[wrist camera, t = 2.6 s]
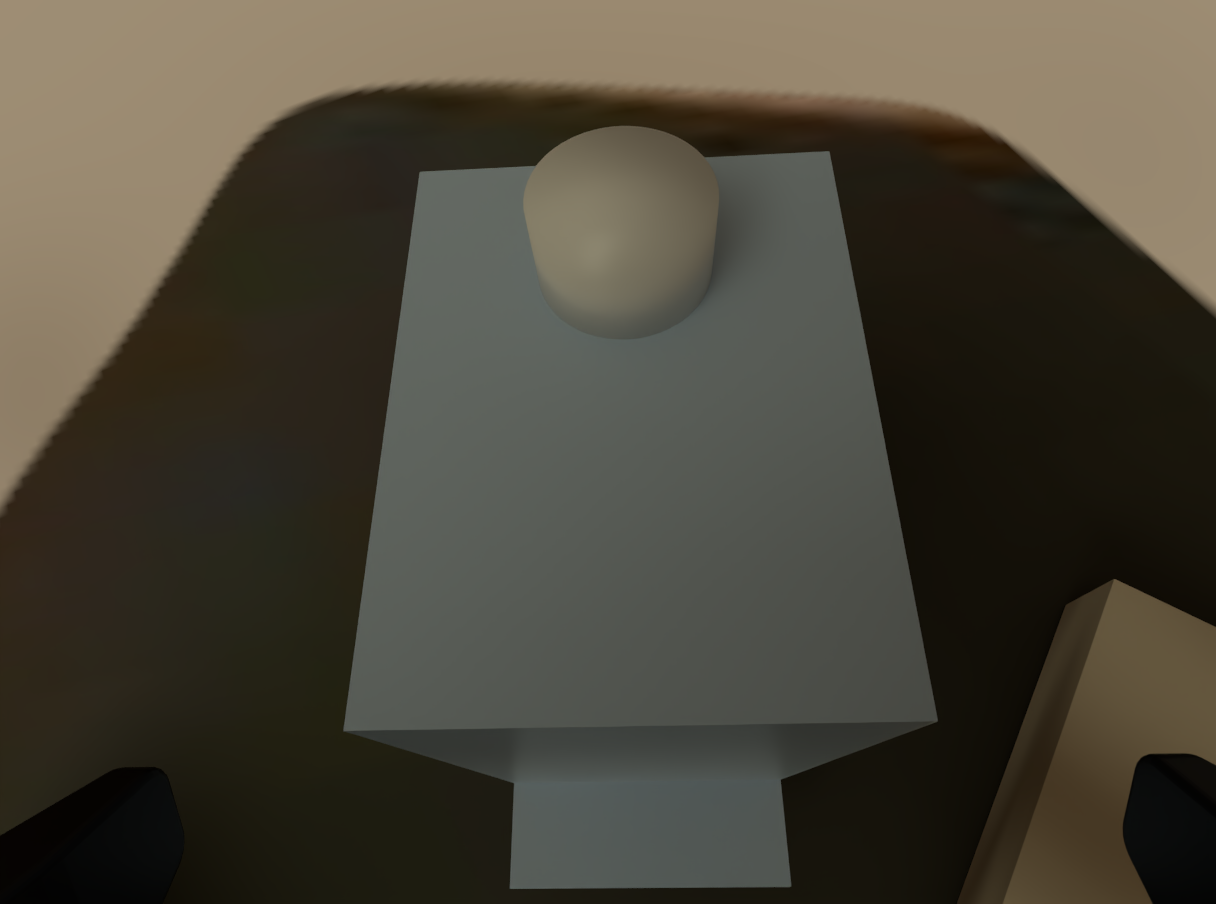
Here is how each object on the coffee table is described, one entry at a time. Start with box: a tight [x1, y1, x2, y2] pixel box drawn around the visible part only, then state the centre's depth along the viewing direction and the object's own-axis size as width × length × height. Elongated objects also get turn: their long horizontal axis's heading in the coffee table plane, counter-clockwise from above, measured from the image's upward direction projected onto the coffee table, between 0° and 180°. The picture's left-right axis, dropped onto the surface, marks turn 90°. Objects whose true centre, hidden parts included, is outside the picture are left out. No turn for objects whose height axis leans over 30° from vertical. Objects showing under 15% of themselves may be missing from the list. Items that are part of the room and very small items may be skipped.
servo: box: [343, 126, 938, 889], centre depth 12 cm, size 9×5×12 cm, turn 0°
